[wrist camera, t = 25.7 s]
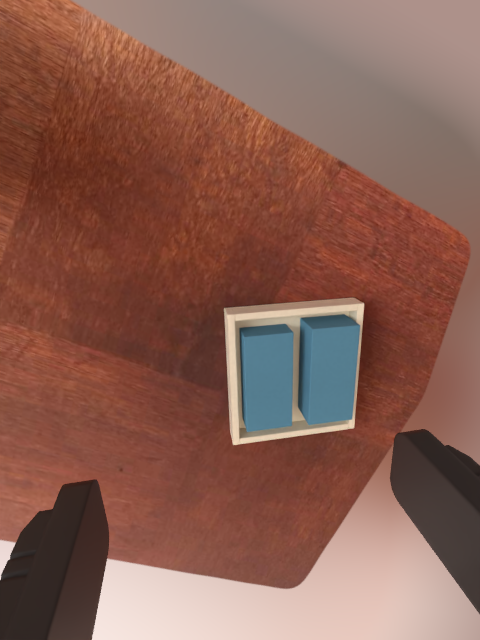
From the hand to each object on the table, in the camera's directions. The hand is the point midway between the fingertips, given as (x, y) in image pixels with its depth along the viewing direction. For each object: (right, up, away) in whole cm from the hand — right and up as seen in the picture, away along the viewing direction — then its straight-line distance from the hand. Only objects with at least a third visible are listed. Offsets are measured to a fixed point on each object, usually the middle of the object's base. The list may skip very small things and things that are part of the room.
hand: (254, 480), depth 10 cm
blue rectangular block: (+9, -1, +35) cm, 36 cm away
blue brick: (+2, -2, +34) cm, 34 cm away
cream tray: (+6, -2, +35) cm, 36 cm away
